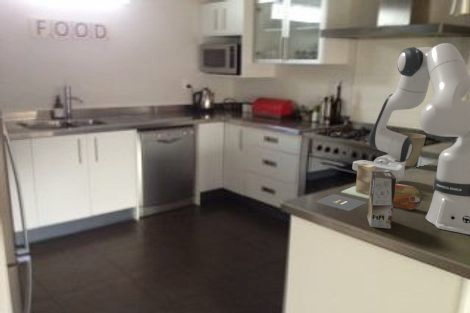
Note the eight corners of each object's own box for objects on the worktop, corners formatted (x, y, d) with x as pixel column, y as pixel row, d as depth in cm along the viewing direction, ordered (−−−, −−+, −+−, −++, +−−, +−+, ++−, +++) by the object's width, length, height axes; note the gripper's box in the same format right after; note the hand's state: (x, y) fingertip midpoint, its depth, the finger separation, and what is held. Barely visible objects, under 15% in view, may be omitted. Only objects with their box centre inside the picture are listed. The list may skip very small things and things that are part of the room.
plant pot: (391, 160, 225) (394, 132, 222) (421, 163, 220) (424, 133, 217) (391, 166, 212) (394, 135, 208) (423, 169, 207) (427, 138, 203)
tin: (375, 204, 151) (377, 181, 149) (378, 201, 154) (380, 180, 152) (419, 212, 143) (422, 189, 141) (421, 209, 146) (424, 186, 144)
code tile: (367, 202, 152) (367, 202, 152) (348, 211, 142) (348, 210, 142) (333, 194, 161) (333, 193, 161) (314, 202, 151) (314, 201, 151)
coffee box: (391, 229, 127) (396, 178, 124) (369, 227, 128) (374, 177, 125) (387, 219, 136) (391, 171, 132) (366, 217, 137) (370, 170, 134)
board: (387, 194, 163) (387, 193, 163) (374, 200, 154) (374, 199, 154) (354, 187, 172) (355, 185, 172) (340, 193, 164) (340, 191, 163)
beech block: (373, 192, 163) (375, 165, 161) (367, 194, 160) (369, 167, 157) (361, 189, 167) (363, 163, 164) (355, 192, 163) (357, 165, 161)
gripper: (361, 155, 180) (346, 160, 170) (408, 163, 167) (395, 168, 157) (360, 169, 182) (345, 174, 172) (407, 178, 168) (393, 184, 158)
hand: (369, 172), depth 164 cm, fingers open, 8 cm apart
